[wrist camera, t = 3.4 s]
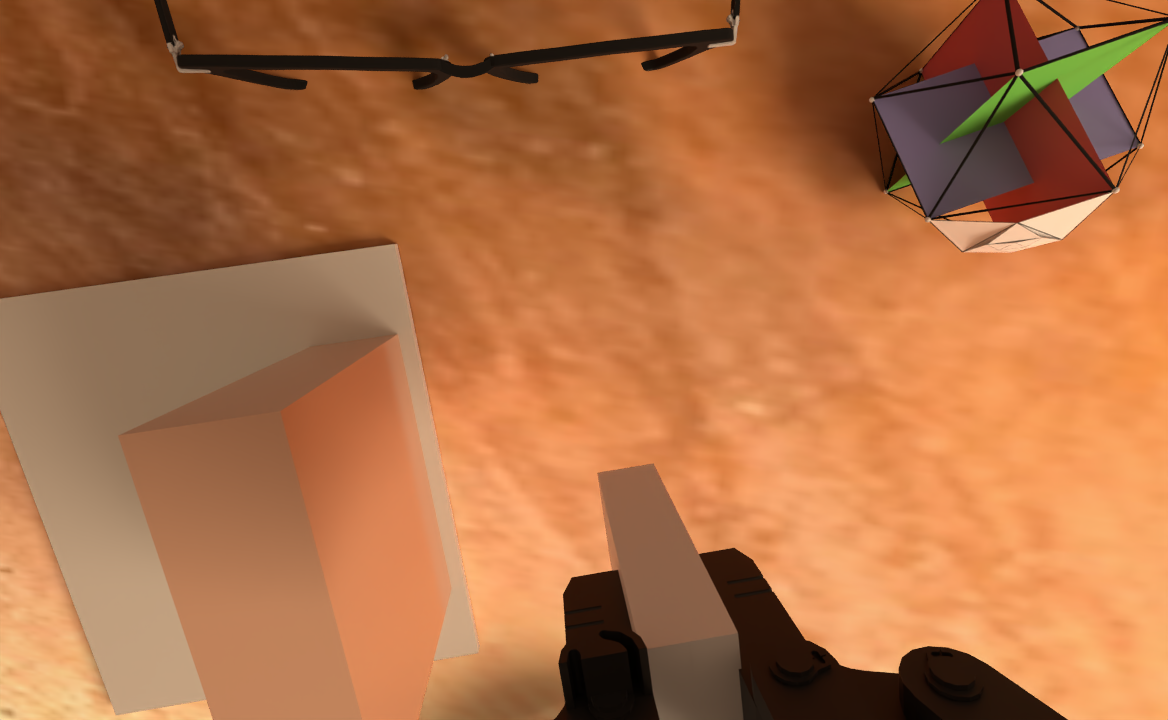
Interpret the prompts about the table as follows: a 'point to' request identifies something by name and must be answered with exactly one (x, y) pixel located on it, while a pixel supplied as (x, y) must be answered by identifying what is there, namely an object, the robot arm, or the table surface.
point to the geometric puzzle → (1012, 127)
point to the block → (300, 536)
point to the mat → (159, 385)
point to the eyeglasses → (442, 67)
